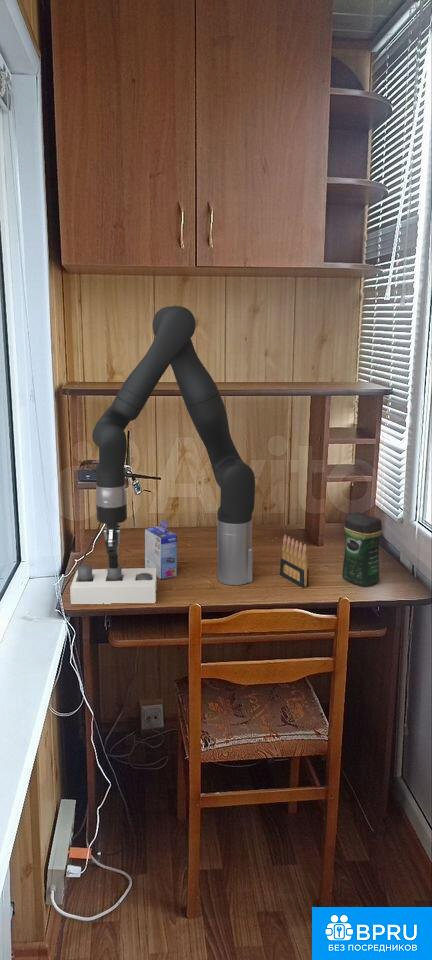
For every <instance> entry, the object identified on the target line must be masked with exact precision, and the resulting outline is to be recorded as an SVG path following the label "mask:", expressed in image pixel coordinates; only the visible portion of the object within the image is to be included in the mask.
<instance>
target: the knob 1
mask: <svg viewBox="0 0 432 960" xmlns="http://www.w3.org/2000/svg"><path fill="white" fill-rule="evenodd" d="M92 569H93V566H92V565H90V564H82V565H79V566H77V570H78V582H93V578H92Z"/></svg>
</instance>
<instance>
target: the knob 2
mask: <svg viewBox="0 0 432 960" xmlns="http://www.w3.org/2000/svg"><path fill="white" fill-rule="evenodd" d="M137 580H151V574H149V573H141V574H138V575H137Z"/></svg>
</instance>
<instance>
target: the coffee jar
mask: <svg viewBox="0 0 432 960" xmlns="http://www.w3.org/2000/svg"><path fill="white" fill-rule="evenodd" d="M346 515H347V516H346V517H345V522H344V525H343V527H344V528H343V530H344V534H345V547H344V548H345V549H344V557H343V563H342V564H343V565H342V579H344V580H345V581H347V582H349V583H352V584H354V585H356V586H361V587H365V586H370V587H371V586H374V585H375V584H377V583H378V582H379V581H380V555H379V554H380V549H379V548H380V545H379V544H380V538H381V536H382V535H381V534H382V533H383V529H382V528H383V527H382V526H383V525H382V519H380V518H379V517H375V516H374V517H373V516H370V515H367V514H364V513H361V512H357V511H356V512H352V513H349V514H346Z"/></svg>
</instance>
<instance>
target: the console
mask: <svg viewBox="0 0 432 960" xmlns="http://www.w3.org/2000/svg"><path fill="white" fill-rule="evenodd" d="M141 573H149V574H151V580H137V575H138V574H141ZM73 576H74V577H73V579H72V582H71V583H70V587H69V590H70V591H69V592H70V593H69V594H70V605H71V604H103V603H104V604H111V603H155V602H156V603H157V593H156V591H157V589H158V577H157V568H145V567H139V568H138V567H137V568H133V567H132V568H122V581H108V573H107V568H102V569H101V568H98V569H96V568H95V569H93V568H92V578H93V582H78V569H76V570H75V574H74V575H73Z"/></svg>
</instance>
